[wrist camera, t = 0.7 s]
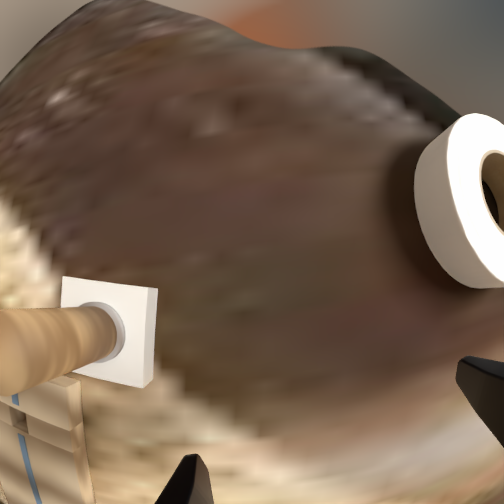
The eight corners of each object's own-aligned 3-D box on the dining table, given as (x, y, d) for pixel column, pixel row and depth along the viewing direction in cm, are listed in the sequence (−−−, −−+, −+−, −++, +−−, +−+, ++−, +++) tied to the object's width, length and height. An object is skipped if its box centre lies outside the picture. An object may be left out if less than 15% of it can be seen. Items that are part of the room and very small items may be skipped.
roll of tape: (529, 215, 24) (560, 204, 19) (480, 322, 22) (520, 324, 17) (451, 112, 25) (477, 87, 20) (382, 200, 24) (414, 177, 18)
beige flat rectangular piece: (104, 536, 18) (97, 549, 15) (19, 498, 17) (9, 506, 15) (80, 380, 20) (65, 388, 18) (-11, 348, 20) (-27, 350, 18)
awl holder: (152, 379, 21) (143, 388, 18) (75, 362, 21) (59, 368, 18) (158, 288, 22) (148, 287, 19) (78, 278, 22) (63, 276, 19)
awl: (135, 359, 21) (32, 417, 8) (88, 349, 21) (-30, 385, 8) (138, 305, 21) (27, 311, 8) (90, 297, 21) (-34, 294, 8)
